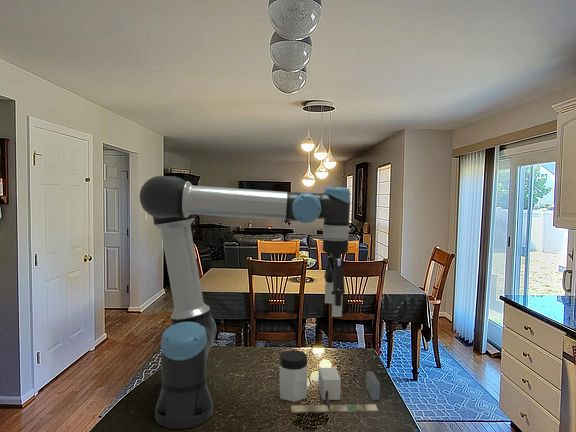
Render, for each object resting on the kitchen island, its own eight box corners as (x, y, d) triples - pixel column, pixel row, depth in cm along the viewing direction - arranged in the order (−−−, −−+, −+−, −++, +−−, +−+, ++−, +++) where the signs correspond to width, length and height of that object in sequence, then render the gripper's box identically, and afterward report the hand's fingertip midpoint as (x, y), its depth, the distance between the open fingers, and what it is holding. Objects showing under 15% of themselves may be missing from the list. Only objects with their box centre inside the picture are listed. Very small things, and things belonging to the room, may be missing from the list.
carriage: (323, 408, 116) (324, 387, 116) (318, 386, 129) (318, 367, 128) (343, 408, 116) (343, 387, 116) (335, 386, 129) (336, 367, 129)
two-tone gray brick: (372, 400, 122) (373, 383, 121) (366, 387, 130) (366, 371, 129) (379, 400, 122) (379, 383, 121) (372, 387, 130) (372, 371, 129)
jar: (287, 404, 118) (288, 363, 118) (272, 393, 125) (273, 353, 124) (313, 396, 123) (313, 357, 123) (297, 385, 130) (298, 347, 129)
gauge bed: (291, 412, 114) (291, 411, 114) (290, 407, 117) (290, 405, 117) (378, 411, 116) (378, 409, 116) (375, 405, 119) (375, 404, 119)
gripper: (357, 245, 112) (354, 322, 114) (340, 234, 137) (337, 298, 138) (329, 244, 112) (326, 322, 113) (317, 234, 136) (315, 298, 138)
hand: (332, 309), depth 126 cm, fingers open, 13 cm apart
